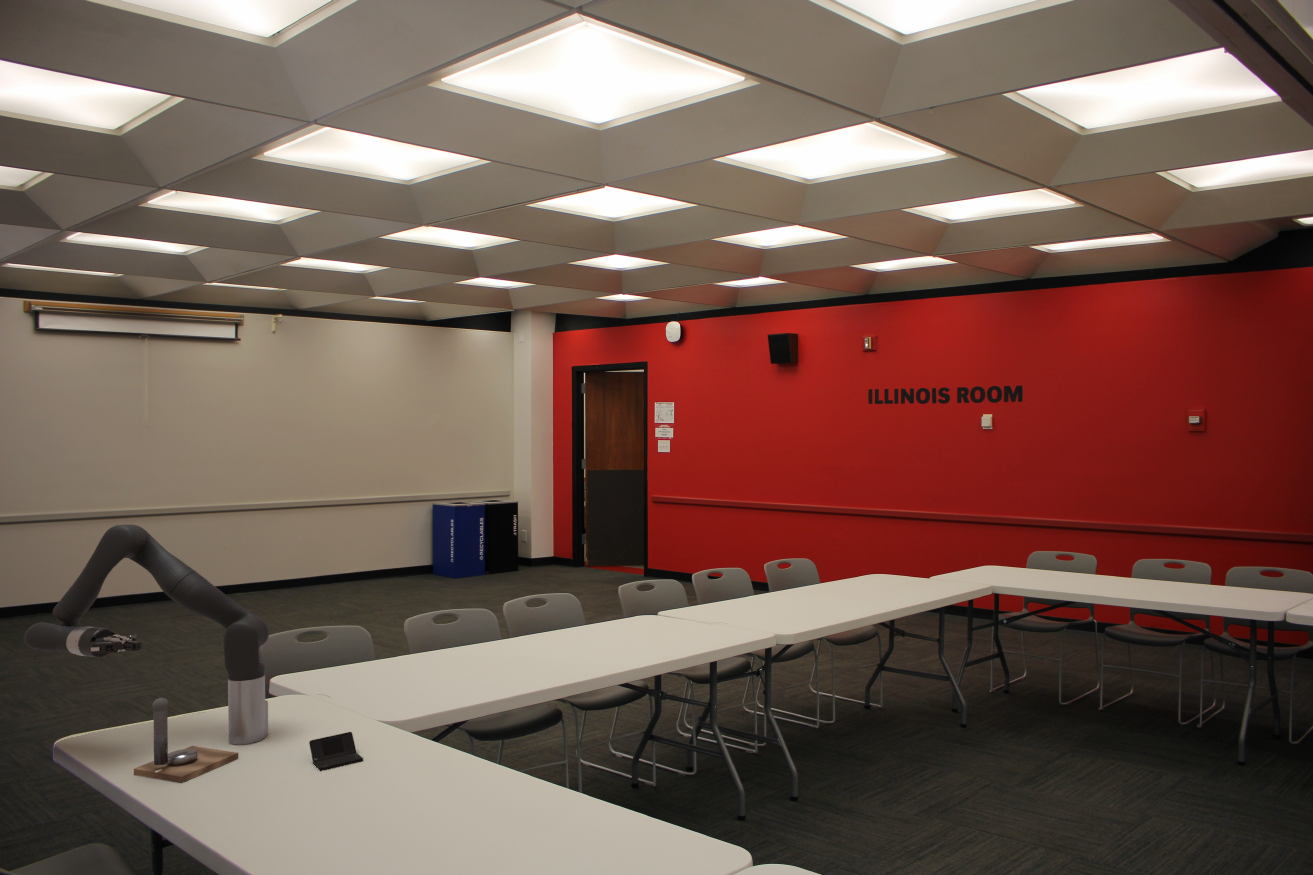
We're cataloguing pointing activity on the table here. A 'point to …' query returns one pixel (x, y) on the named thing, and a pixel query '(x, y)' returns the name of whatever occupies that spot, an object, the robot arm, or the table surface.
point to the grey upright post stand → (162, 738)
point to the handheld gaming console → (334, 751)
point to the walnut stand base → (188, 765)
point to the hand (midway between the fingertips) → (138, 646)
